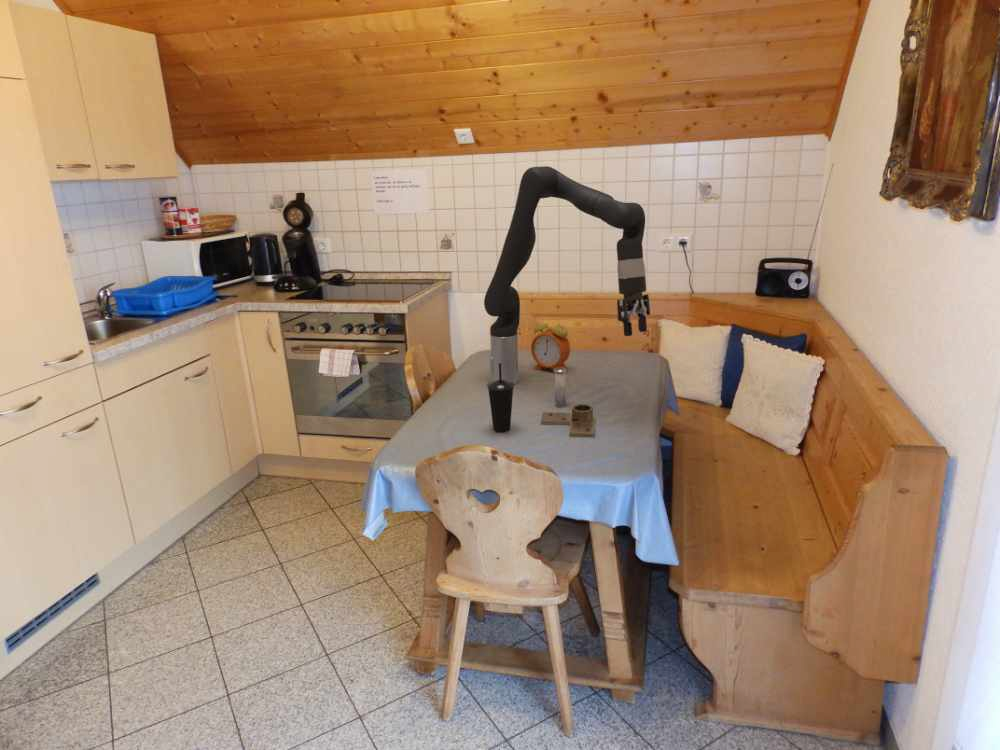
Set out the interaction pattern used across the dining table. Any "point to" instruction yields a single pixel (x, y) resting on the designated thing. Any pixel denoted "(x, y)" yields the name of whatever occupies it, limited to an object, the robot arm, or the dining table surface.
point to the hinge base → (573, 420)
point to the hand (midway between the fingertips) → (635, 333)
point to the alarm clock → (550, 347)
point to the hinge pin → (560, 386)
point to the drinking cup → (501, 403)
